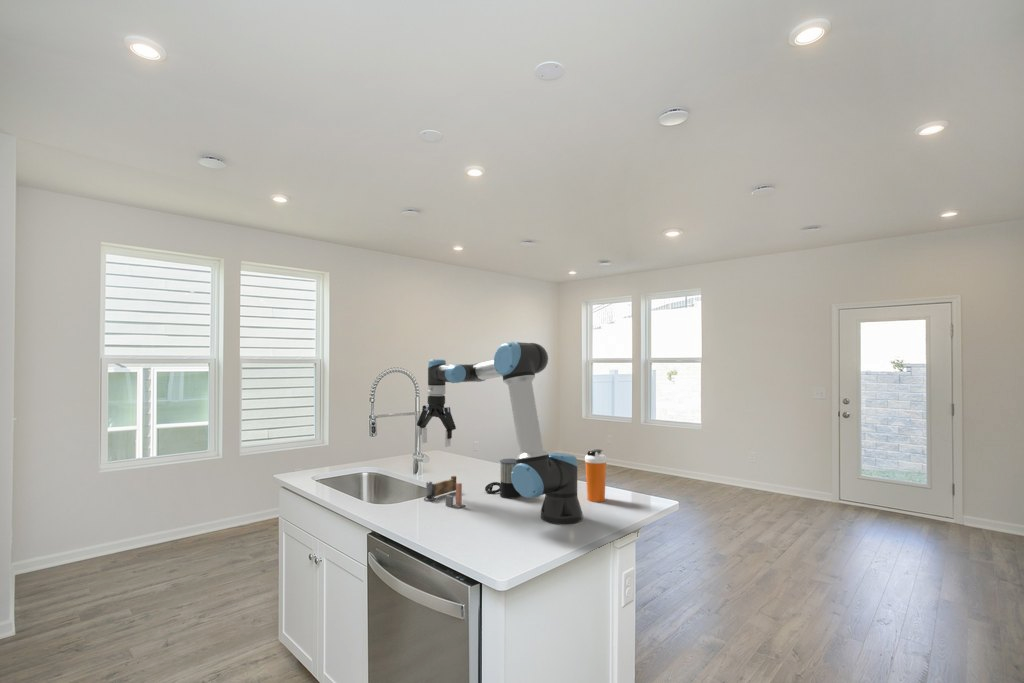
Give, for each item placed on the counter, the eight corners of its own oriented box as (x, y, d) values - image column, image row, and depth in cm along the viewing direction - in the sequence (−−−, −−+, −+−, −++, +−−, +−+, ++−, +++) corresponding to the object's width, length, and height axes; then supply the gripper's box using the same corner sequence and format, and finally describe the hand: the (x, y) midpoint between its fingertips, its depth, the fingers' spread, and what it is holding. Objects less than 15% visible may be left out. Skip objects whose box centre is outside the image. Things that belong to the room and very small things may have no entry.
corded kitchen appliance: (521, 498, 206) (521, 462, 206) (483, 498, 206) (483, 462, 206) (521, 490, 220) (521, 456, 220) (485, 489, 220) (485, 456, 221)
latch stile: (465, 506, 195) (465, 483, 195) (458, 508, 191) (458, 485, 192) (452, 503, 199) (452, 480, 199) (445, 505, 195) (445, 482, 196)
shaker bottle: (610, 498, 205) (609, 450, 206) (602, 503, 198) (601, 453, 199) (590, 495, 210) (590, 448, 211) (581, 500, 203) (581, 451, 203)
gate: (433, 497, 205) (434, 482, 205) (430, 496, 206) (431, 481, 206) (456, 490, 216) (456, 476, 216) (453, 489, 217) (453, 475, 217)
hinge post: (436, 499, 205) (436, 482, 205) (429, 501, 201) (429, 484, 201) (429, 497, 207) (429, 480, 207) (421, 499, 204) (421, 482, 204)
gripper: (409, 394, 218) (408, 442, 217) (453, 397, 204) (452, 449, 204) (421, 393, 224) (420, 440, 224) (464, 396, 210) (463, 446, 210)
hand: (435, 444), depth 214 cm, fingers open, 13 cm apart
